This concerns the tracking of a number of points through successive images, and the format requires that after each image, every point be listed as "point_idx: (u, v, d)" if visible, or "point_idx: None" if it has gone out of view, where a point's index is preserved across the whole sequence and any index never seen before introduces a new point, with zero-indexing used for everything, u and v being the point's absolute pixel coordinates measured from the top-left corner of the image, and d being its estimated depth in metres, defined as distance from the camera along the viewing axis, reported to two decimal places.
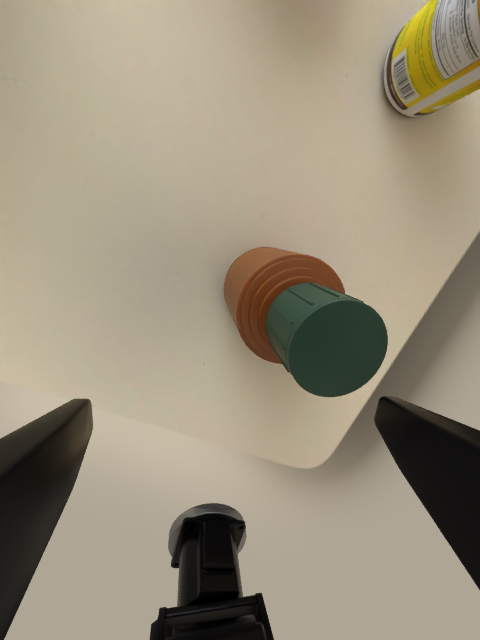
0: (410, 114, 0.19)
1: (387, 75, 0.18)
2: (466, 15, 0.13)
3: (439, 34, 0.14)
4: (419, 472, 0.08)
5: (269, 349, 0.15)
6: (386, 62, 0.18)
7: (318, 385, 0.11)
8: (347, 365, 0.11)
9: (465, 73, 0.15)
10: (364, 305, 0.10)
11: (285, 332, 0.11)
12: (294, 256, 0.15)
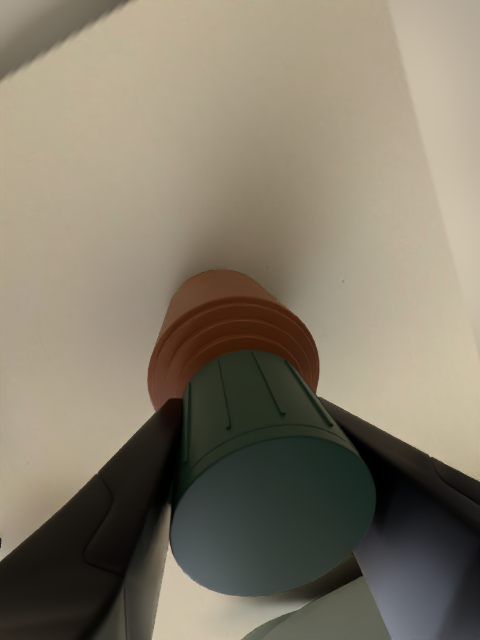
0: None
1: None
2: None
3: None
4: None
5: (304, 369, 0.10)
6: None
7: (351, 484, 0.05)
8: (280, 494, 0.05)
9: None
10: (192, 576, 0.05)
11: None
12: None
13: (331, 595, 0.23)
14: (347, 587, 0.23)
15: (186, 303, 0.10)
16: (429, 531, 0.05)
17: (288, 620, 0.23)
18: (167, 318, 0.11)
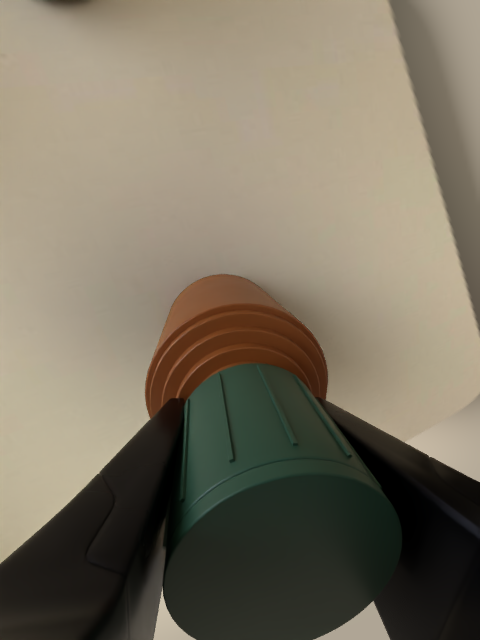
0: None
1: None
2: None
3: None
4: None
5: None
6: None
7: (374, 526, 0.05)
8: (292, 539, 0.04)
9: None
10: (189, 632, 0.05)
11: None
12: (158, 354, 0.09)
13: None
14: None
15: None
16: (429, 532, 0.05)
17: None
18: (280, 305, 0.11)
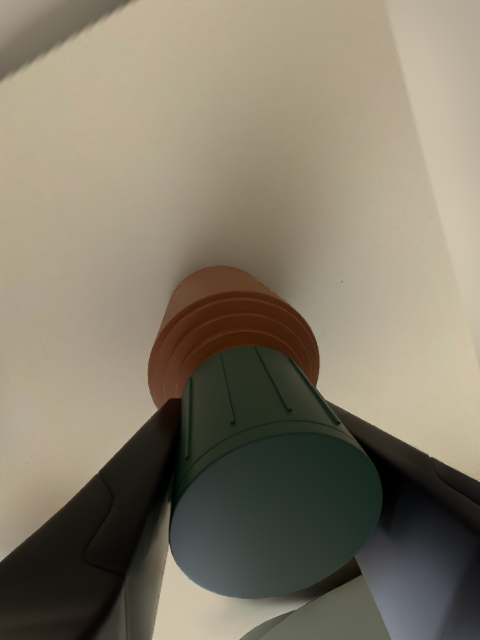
0: None
1: None
2: None
3: None
4: None
5: (302, 357, 0.10)
6: None
7: (205, 565, 0.05)
8: (277, 553, 0.05)
9: None
10: (373, 470, 0.05)
11: (209, 427, 0.05)
12: None
13: (329, 595, 0.23)
14: (345, 587, 0.23)
15: (178, 304, 0.11)
16: (429, 531, 0.05)
17: (286, 620, 0.23)
18: (162, 321, 0.11)
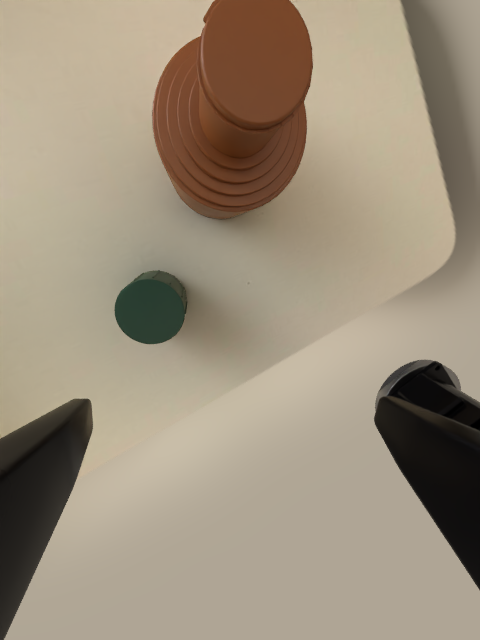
0: None
1: None
2: None
3: None
4: (419, 472, 0.08)
5: (263, 181, 0.12)
6: None
7: (173, 300, 0.17)
8: (149, 300, 0.16)
9: None
10: (122, 329, 0.17)
11: None
12: (157, 94, 0.11)
13: None
14: None
15: None
16: None
17: None
18: None
